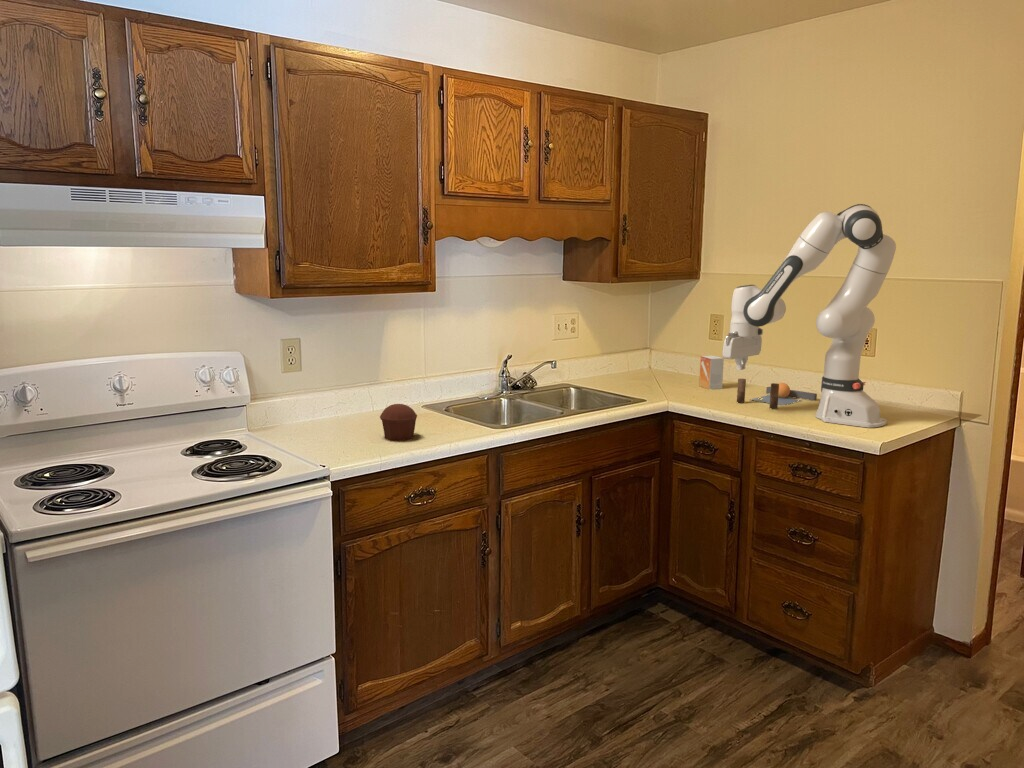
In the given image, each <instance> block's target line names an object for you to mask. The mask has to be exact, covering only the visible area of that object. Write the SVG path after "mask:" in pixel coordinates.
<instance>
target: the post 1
mask: <svg viewBox="0 0 1024 768" xmlns="http://www.w3.org/2000/svg"><path fill="white" fill-rule="evenodd" d="M746 382H747V379H746V378H738V380H737V392H736V393H737V394H736V403H737V402H738V403H737V404H745V401H746V399H745V398H746Z"/></svg>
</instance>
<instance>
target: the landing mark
mask: <svg viewBox="0 0 1024 768" xmlns="http://www.w3.org/2000/svg"><path fill="white" fill-rule="evenodd" d="M760 397H761V398H763V399H762V400H760V399H761V398H759V397H754V398H751V399H752V400H754V401H753V402H758V401H760V402H759V403H764V402H766V403H765V404H770V394H768V395H763V396H760ZM758 398H759V399H758ZM751 399H749V401H752V400H751ZM798 400H799V402H802V401H803V399H797V398H791V397H785V398H779V397H778V406H782V405H785V406H787V404H788V405H791V403H792V404H794V403H793V402H796V403H798V402H797V401H798Z"/></svg>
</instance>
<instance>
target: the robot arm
mask: <svg viewBox="0 0 1024 768" xmlns="http://www.w3.org/2000/svg"><path fill="white" fill-rule="evenodd" d="M846 238H848V240H849V241H850V242H852V243H853V244H855V245H856V246H858V249H857V253H856V255H855V258H854V260H853V261H852V264H851V267H850V268H849V269H848V270H849V271H848V272H847V275H846V277H845V279H844V281H843V283H842V285H841V286H840V288H839V289H838V290H837V292H836V294H835V295H834V296H833V298H831V301H830V302H829V303H828V304H827V306H826V307H825V308H824V309H822V310H821V311H820V312H819V313H818V314H817V316H816V319H815V326H816V329H817V332H818V333H820V335H822V336H823V337H827V338H830V339H832V342H831V345H830V346H829V348H828V349H827V351H826V352H825V356H824V369H823V376H822V377H821V385H820V387H821V388H820V391H821V394H820V395H821V396H820V400H819V404H818V408H817V410H816V413H815V418H817V419H819V420H821V421H822V422H824V423H829V424H839V425H847V426H853V427H862V428H870V429H871V428H872V429H873V428H879V427H883V426H886V425H887V424H888V420H887V419H886V418H882V417H881V409H880V408H881V407H880V405H879V403H878V402H877V401H876V400H874V399H873V398H872V397H871V396H870V395H869V394H867V392H866V391H864V386H866V383H867V382H866V381H862V380H861V379H860V376H859V375H860V366H861V358H862V353H863V350H864V347H865V343H866V342H867V341H866V340H867V337H868V335H869V333H870V331H871V329H872V328H873V327H874V325H875V321H876V319H875V314H874V313H873V311H872V309H870V308H869V307H867V306H868V305H869V304H870V303H871V302H872V301H873V300H874V299H875V298H876V297H877V296H878V294H879V292H880V290H881V288H882V286H883V284H884V282H885V280H886V278H887V275H888V274H889V270H890V269H891V266H892V263H893V260H894V257H895V254H896V250H897V243H896V241H895V240H894V239H893V238H892V237H891V236H889V235H887V234H885V233H883V224H882V220H881V218H880V215H879V213H878V212H877V210H875V209H874V208H872V207H871V206H869V205H868V204H863V203H857V204H854V205H851V206H849V207H847V208H846V209H844V210H842V211H839V212H838V213H837V214H835V213H833V212H830V211H829V212H828V211H823V212H820V213H818V214H817V215H816V216H815V217H813V219H812V220H811V221H810V222H809V223H808V225H807V226H806V227H805V228H804V229H803V231H802V232H801V233H800V234H799V236H798V238H797V239H796V241H795V242H794V243H793V246H792V248H791V249H790V251H789V252H788V254H787V255H786V257H785V259H784V260H783V261H782V263H781V264H780V265H779V267H778V268H777V270H776V271H775V272H774V273H773V274H772V276H771V277H770V278H769V280H768V281H767V283H765V284H764V285H765V286H764V287H762V289H761V288H759V287H758V286H757V285H756V284H746V285H740V286H737V287H735V288H734V290H733V293H732V297H731V307H730V311H731V318H730V325H729V332H728V334H727V335H726V336H725V338H724V341H723V347H722V358H724V359H725V360H734V361H735V362H734V363H735V364H736V370H737V371H742V370H746V365H747V362H748V358H749V357H753V356H757V355H760V354H761V351H762V343H763V342H762V340H763V339H762V336H763V334H764V330H763V329H762V328H761V327H764V326H765V325H769V324H772V323H773V324H774V323H775V322H776V323H777V322H778V321H780V320H782V319H783V318H784V316H785V313H786V310H787V309H786V308H787V307H786V303H785V301H784V300H783V299H782V296H783V295H784V294H785V292H786V291H787V290H788V289H789V287H790V286H791V285H792V283H794V281H796V280H797V279H798V278H800V277H802V276H804V275H806V274H807V273H810V272H812V271H814V270H816V269H817V268H818V267H819V266H820V265H821V264H822V263H823V262H824V261H825V259H827V258H828V256H829V254H830V253H831V252H832V250H833V249H834V247H835V245H837V244H838V243H839V242H840V241H841V240H844V239H846Z"/></svg>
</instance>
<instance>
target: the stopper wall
mask: <svg viewBox="0 0 1024 768" xmlns="http://www.w3.org/2000/svg"><path fill="white" fill-rule="evenodd" d="M770 392H771V386H766V391H765V393H766V394H768V393H770ZM793 397H796V398H795V399H800V398H802V399H801V400H806V399H809V400H808V401H813V400H815V401H817V398H818V393H817V392H816V393H814V392H808V391H801V390H794V389H790V393H789V395H788V397H787V398H793Z"/></svg>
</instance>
